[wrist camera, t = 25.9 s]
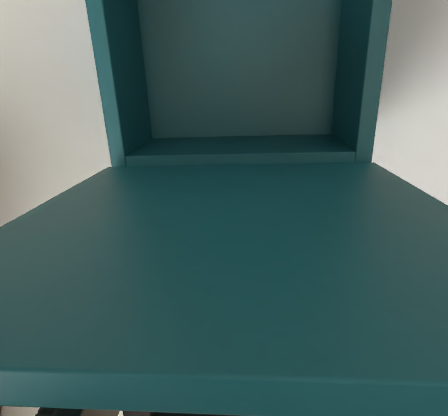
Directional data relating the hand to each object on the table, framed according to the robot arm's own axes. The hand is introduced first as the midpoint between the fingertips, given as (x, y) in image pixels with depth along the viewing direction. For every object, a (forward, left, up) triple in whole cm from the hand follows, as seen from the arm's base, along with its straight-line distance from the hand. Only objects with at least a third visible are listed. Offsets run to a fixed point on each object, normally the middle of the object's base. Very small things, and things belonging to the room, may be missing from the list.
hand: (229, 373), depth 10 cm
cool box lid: (-2, +4, -3) cm, 5 cm away
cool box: (-4, +10, -18) cm, 21 cm away
